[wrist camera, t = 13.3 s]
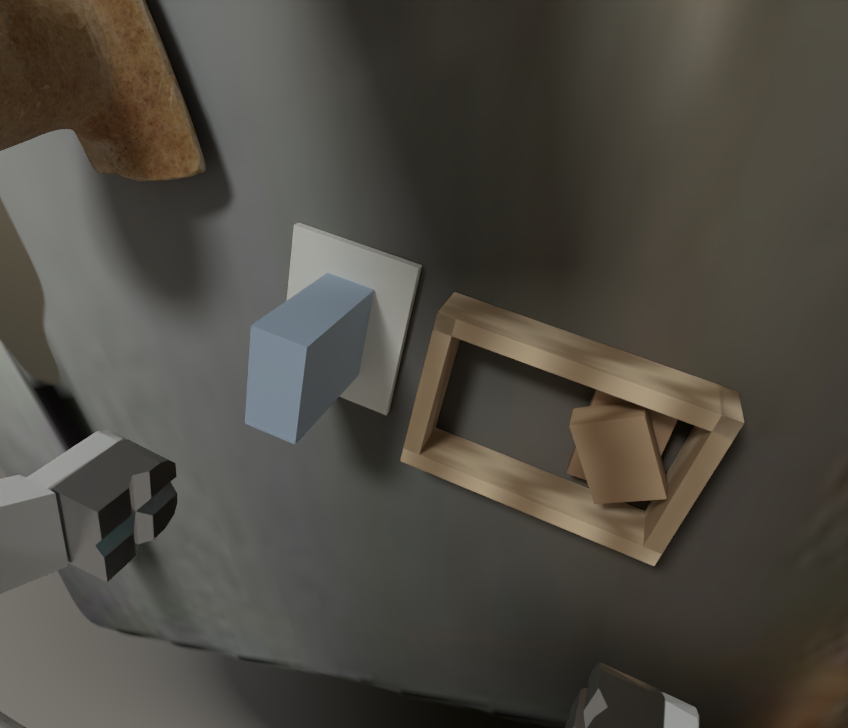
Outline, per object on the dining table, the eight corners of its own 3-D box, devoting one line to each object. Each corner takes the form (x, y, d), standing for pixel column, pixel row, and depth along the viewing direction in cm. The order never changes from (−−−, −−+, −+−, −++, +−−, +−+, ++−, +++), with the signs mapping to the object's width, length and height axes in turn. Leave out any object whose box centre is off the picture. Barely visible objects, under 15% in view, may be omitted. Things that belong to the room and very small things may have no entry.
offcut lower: (680, 397, 38) (680, 414, 36) (642, 480, 42) (641, 499, 40) (600, 373, 39) (597, 388, 37) (570, 456, 43) (566, 473, 41)
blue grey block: (374, 289, 40) (306, 347, 33) (358, 375, 44) (295, 444, 37) (327, 272, 41) (251, 325, 34) (315, 358, 45) (244, 423, 37)
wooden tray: (738, 391, 36) (744, 422, 33) (655, 529, 42) (654, 566, 39) (454, 291, 39) (437, 312, 36) (417, 433, 45) (400, 461, 43)
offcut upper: (645, 398, 37) (644, 415, 35) (666, 479, 39) (666, 499, 37) (573, 408, 39) (569, 425, 37) (597, 484, 41) (594, 504, 39)
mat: (422, 265, 39) (418, 268, 39) (389, 411, 45) (386, 415, 45) (298, 222, 41) (293, 224, 40) (283, 369, 47) (279, 372, 47)
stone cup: (0, -30, 40) (-304, -60, 27) (129, -101, 35) (-170, -176, 23) (104, 200, 46) (-108, 261, 33) (227, 166, 41) (32, 224, 28)
